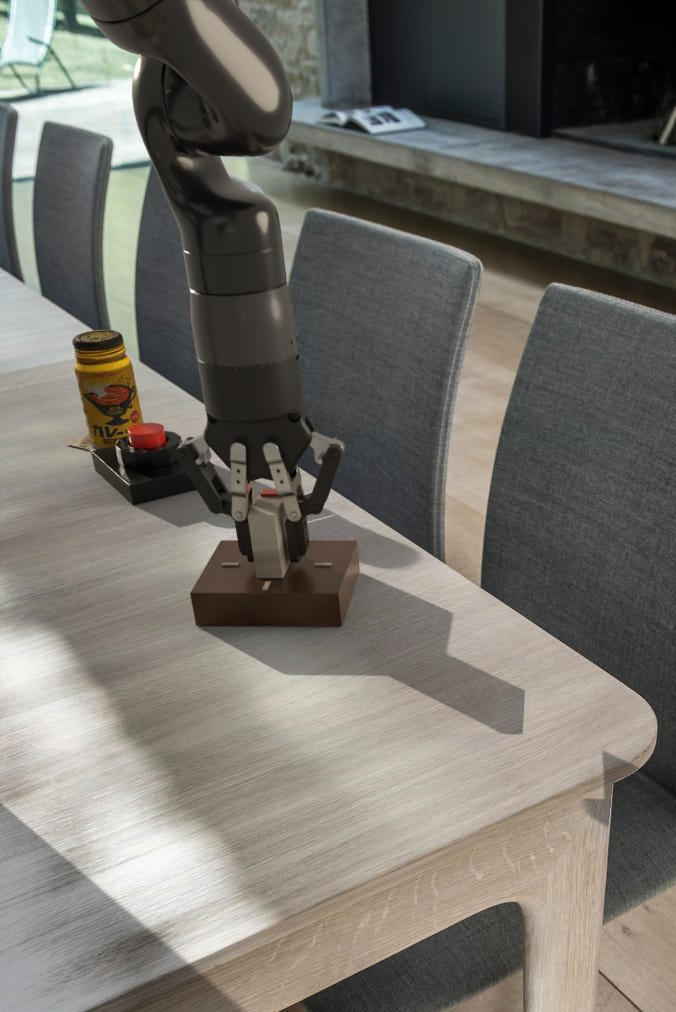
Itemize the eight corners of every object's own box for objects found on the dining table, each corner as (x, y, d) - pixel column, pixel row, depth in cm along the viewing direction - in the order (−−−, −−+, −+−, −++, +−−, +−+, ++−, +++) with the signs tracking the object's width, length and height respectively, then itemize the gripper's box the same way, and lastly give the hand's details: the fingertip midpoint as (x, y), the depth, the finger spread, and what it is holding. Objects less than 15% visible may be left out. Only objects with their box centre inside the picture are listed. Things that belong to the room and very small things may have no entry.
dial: (283, 578, 93) (274, 512, 90) (256, 578, 94) (246, 512, 90) (295, 552, 97) (287, 488, 94) (270, 551, 98) (261, 487, 94)
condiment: (117, 457, 126) (94, 347, 119) (64, 445, 130) (38, 337, 123) (164, 437, 131) (145, 330, 125) (112, 425, 135) (90, 321, 128)
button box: (95, 470, 123) (86, 434, 121) (175, 452, 127) (168, 416, 125) (133, 506, 115) (125, 467, 112) (217, 485, 119) (211, 447, 116)
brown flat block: (195, 625, 93) (189, 591, 92) (225, 571, 102) (220, 538, 100) (341, 626, 93) (338, 591, 91) (360, 571, 101) (357, 538, 99)
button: (126, 443, 119) (122, 427, 118) (159, 436, 121) (156, 420, 120) (138, 453, 117) (134, 436, 116) (171, 446, 118) (168, 429, 117)
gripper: (139, 362, 83) (180, 578, 93) (331, 361, 82) (352, 579, 91) (170, 334, 89) (205, 539, 99) (348, 332, 88) (367, 539, 98)
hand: (276, 557), depth 95 cm, fingers open, 3 cm apart
